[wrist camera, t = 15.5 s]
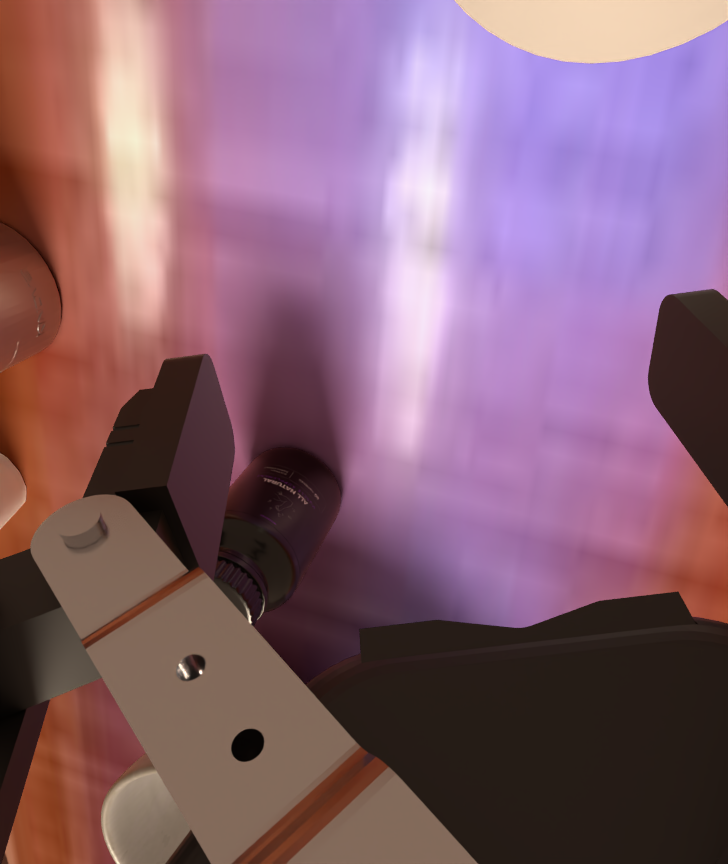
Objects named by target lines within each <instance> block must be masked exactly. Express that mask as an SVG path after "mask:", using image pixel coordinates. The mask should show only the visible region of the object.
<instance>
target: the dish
mask: <svg viewBox="0 0 728 864" xmlns="http://www.w3.org/2000/svg"><path fill="white" fill-rule="evenodd" d="M455 2H456V3H457V4H458V5H459V6H460V7H461V8H462V9H463V10H464V11H465V13H466V14H468V15H469V16H470V17H471V18H472V19H474V20H475V21H476V22H477V23H478V24H480V25H481V26H482V27H483V28H485V29H486V30H487V31H488V32H490V33H492V34H493V35H495V36H497V37H498V38H500V39H502V40H504V41H505V42H507V43H509V44H510V45H512V46H515V47H517V48H520V49H522V50H525V51H527V52H530V53H532V54H535V55H537V56H542V57H546V58H550V59H555V60H559V61H564V62H577V63H590V64H591V63H606V62H620V61H625V60H629V59H634V58H639V57H644V56H649V55H652V54H655V53H658V52H661V51H664V50H667V49H670V48H673V47H676V46H679V45H681V44H684V43H686V42H688V41H690V40H692V39H694V38H696V37H698V36H700V35H702V34H704V33H706V32H709V31H711V30H713V29H714V28H716V27H718V26H719V25H721V24H722V23H724V22H726V21H727V20H728V0H455Z"/></svg>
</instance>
